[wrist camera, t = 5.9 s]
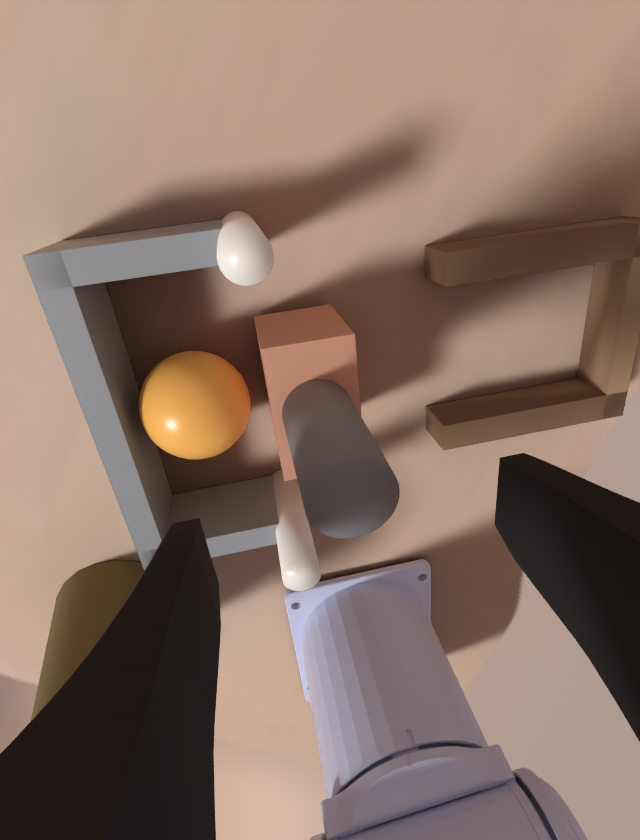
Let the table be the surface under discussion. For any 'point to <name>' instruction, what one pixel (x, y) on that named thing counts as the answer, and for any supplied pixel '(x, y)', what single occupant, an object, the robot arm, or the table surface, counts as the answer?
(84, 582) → the olive green tapered cylinder
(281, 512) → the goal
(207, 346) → the table surface
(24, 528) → the table surface
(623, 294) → the rail frame
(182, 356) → the ball
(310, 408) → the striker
